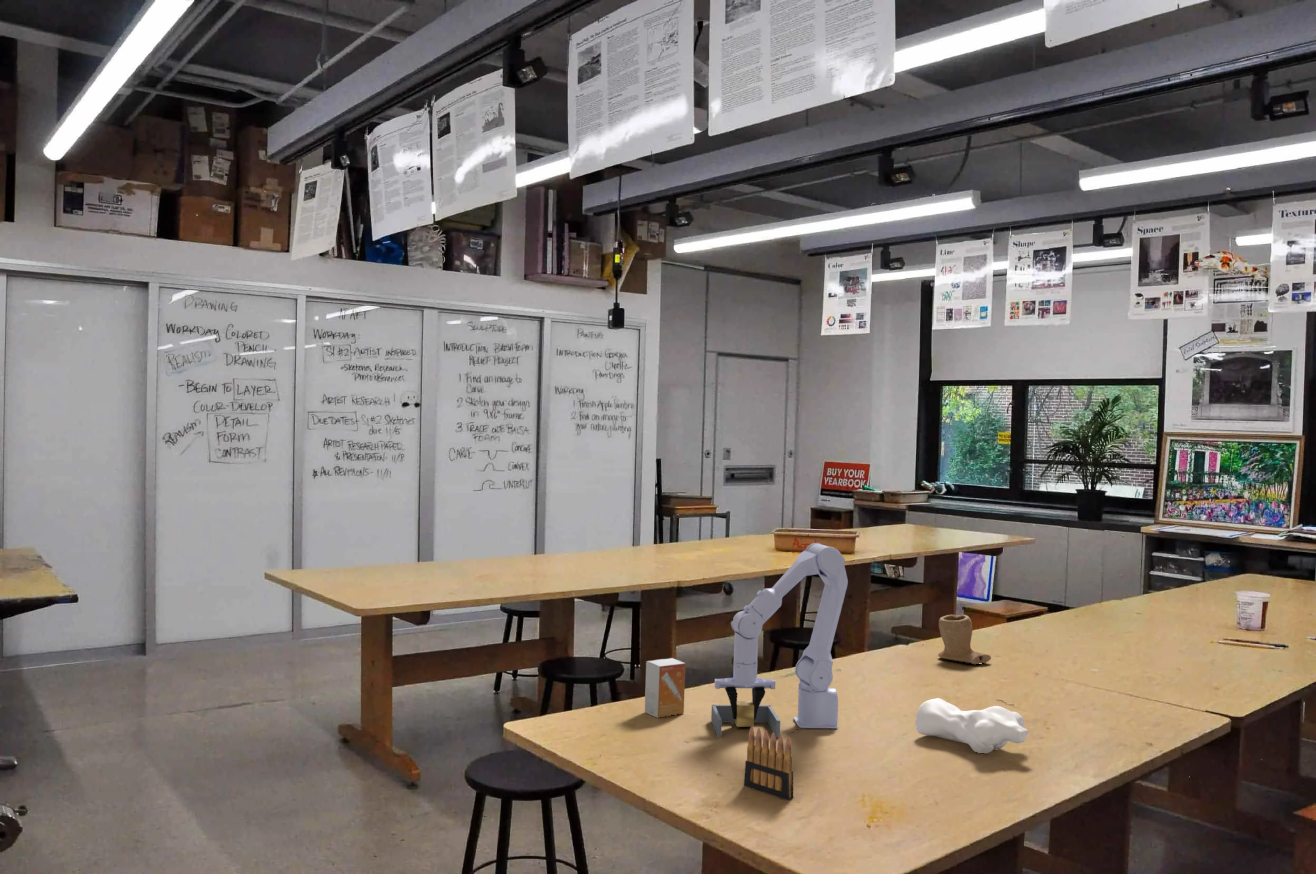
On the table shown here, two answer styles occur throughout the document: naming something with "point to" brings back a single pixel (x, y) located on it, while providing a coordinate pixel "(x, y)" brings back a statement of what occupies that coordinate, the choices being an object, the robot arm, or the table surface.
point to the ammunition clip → (769, 765)
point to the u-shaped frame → (763, 715)
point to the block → (745, 714)
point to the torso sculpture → (971, 725)
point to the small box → (664, 687)
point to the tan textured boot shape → (959, 640)
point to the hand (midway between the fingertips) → (744, 718)
